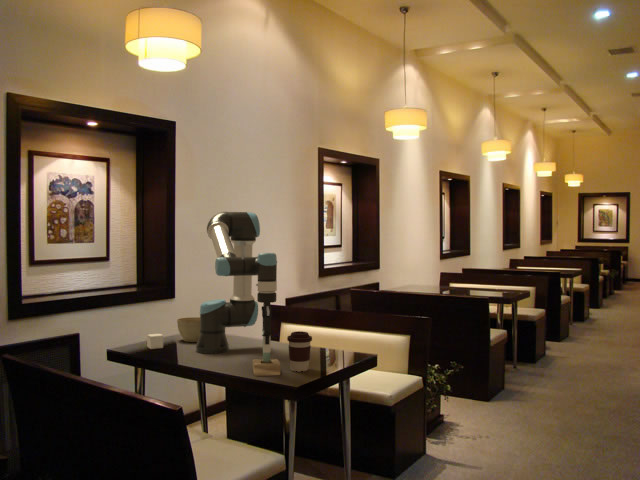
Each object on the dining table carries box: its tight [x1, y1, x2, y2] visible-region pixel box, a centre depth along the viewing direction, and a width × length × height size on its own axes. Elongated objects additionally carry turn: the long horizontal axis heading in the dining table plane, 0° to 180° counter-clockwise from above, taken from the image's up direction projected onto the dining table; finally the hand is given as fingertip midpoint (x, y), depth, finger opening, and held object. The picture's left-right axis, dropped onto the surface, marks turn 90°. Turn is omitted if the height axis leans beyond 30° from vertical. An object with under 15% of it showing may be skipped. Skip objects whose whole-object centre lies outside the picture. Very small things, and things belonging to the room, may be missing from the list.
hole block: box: [252, 358, 281, 377], centre depth 222 cm, size 10×10×4 cm
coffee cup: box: [286, 331, 313, 373], centre depth 226 cm, size 10×10×15 cm
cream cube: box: [146, 333, 164, 350], centre depth 267 cm, size 6×6×6 cm
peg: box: [262, 330, 272, 362], centre depth 221 cm, size 3×3×12 cm
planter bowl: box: [176, 316, 200, 343], centre depth 285 cm, size 16×16×11 cm
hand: (266, 351), depth 221 cm, fingers closed on peg, 2 cm apart
